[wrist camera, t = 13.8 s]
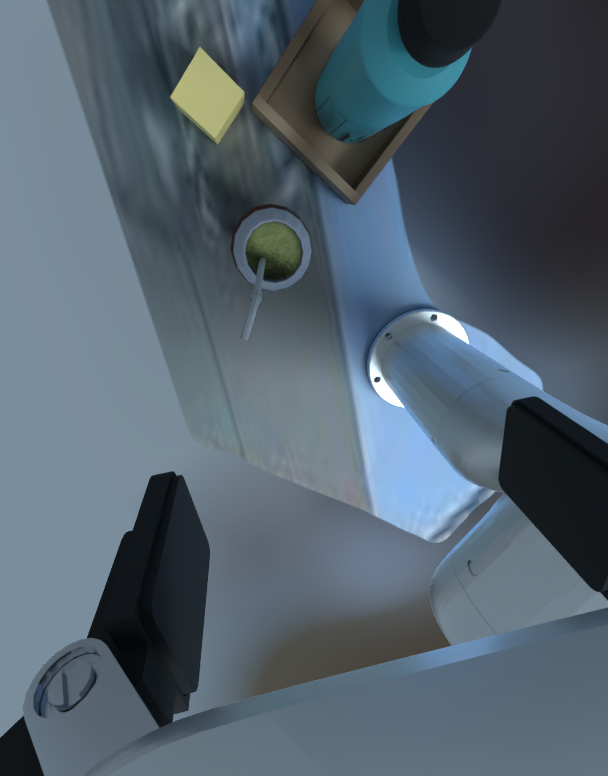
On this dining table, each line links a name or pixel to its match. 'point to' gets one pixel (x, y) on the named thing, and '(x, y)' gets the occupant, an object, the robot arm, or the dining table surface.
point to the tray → (298, 110)
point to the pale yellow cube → (208, 96)
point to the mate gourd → (269, 252)
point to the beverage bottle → (397, 62)
